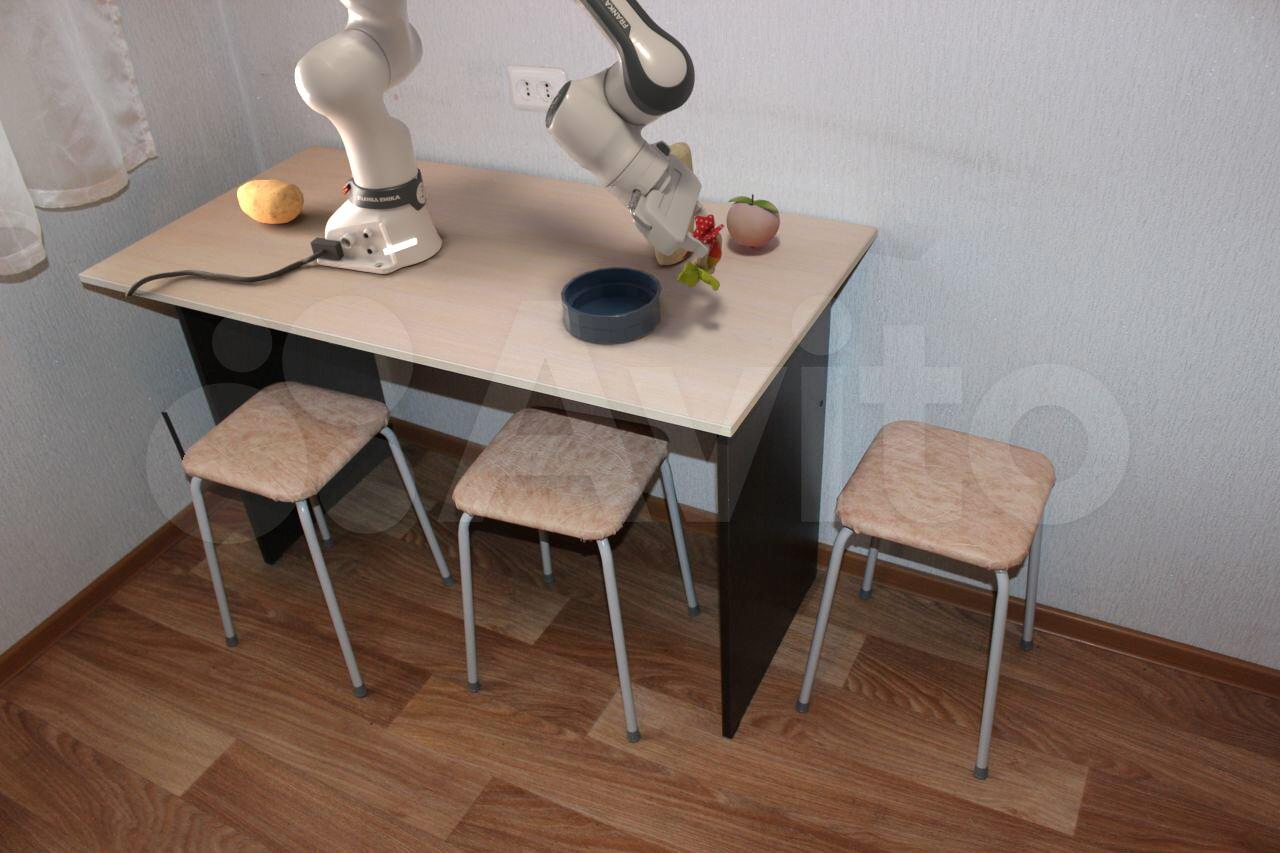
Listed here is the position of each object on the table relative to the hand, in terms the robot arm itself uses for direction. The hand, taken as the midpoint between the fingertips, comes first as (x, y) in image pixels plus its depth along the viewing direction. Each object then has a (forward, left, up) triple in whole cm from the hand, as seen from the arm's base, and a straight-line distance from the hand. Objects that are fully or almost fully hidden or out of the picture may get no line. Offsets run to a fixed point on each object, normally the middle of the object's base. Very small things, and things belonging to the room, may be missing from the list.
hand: (709, 241), depth 153 cm
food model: (-9, +21, -14) cm, 27 cm away
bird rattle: (-1, 0, -7) cm, 7 cm away
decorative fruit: (+4, +25, -14) cm, 29 cm away
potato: (-89, +31, -14) cm, 95 cm away
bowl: (-16, 0, -14) cm, 21 cm away
